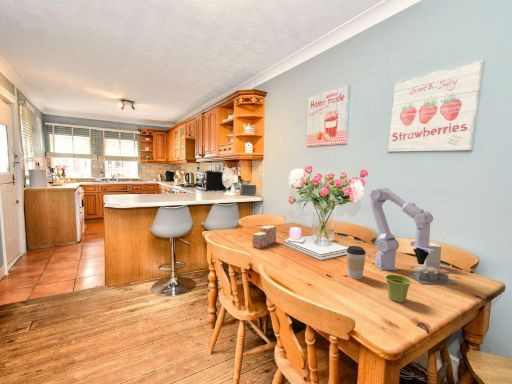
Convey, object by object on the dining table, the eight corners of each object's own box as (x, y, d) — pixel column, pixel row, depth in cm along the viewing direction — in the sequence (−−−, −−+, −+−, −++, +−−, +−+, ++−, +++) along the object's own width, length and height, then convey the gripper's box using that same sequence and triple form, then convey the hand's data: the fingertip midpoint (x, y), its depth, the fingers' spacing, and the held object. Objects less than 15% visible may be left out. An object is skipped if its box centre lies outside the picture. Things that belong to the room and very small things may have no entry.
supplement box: (440, 269, 139) (441, 246, 138) (425, 268, 140) (426, 245, 139) (433, 264, 146) (435, 243, 145) (419, 263, 147) (420, 242, 146)
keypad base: (421, 284, 120) (422, 279, 119) (406, 274, 131) (406, 269, 131) (457, 284, 120) (457, 279, 120) (438, 274, 132) (439, 269, 132)
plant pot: (379, 294, 109) (380, 274, 109) (400, 293, 110) (401, 273, 110) (393, 305, 100) (394, 284, 99) (415, 304, 101) (416, 283, 100)
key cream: (429, 276, 124) (430, 269, 123) (424, 273, 127) (424, 266, 127) (437, 276, 124) (438, 269, 123) (432, 273, 128) (432, 266, 127)
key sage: (418, 276, 123) (419, 269, 123) (413, 273, 127) (413, 266, 127) (426, 276, 123) (427, 269, 123) (421, 273, 127) (421, 266, 127)
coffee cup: (364, 274, 131) (365, 245, 130) (365, 281, 122) (366, 250, 121) (345, 271, 134) (346, 243, 132) (345, 278, 125) (346, 248, 124)
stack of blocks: (259, 248, 173) (260, 231, 172) (252, 247, 176) (252, 229, 175) (276, 242, 190) (276, 225, 189) (269, 240, 194) (269, 224, 193)
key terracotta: (440, 279, 124) (441, 272, 123) (434, 275, 128) (435, 269, 127) (448, 279, 124) (449, 272, 124) (442, 275, 128) (443, 269, 128)
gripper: (441, 240, 117) (439, 269, 118) (420, 233, 131) (419, 259, 132) (426, 240, 117) (424, 269, 118) (407, 233, 131) (405, 259, 132)
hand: (420, 264), depth 125 cm, fingers closed
